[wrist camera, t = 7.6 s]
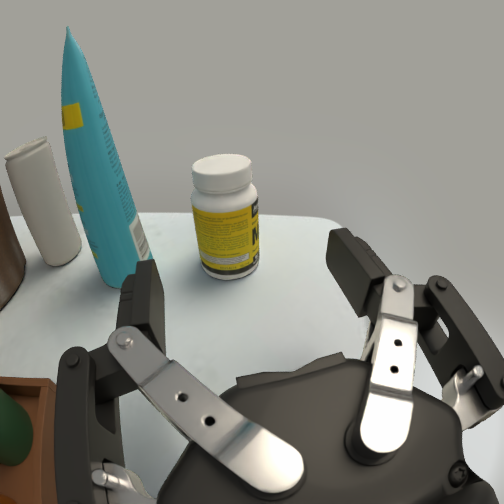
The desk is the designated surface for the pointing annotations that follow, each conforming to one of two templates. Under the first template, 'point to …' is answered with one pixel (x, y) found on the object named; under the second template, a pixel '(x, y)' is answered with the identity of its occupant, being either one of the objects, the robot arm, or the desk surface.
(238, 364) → the desk surface
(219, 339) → the desk surface
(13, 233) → the plant pot
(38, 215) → the beverage can
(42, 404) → the serving tray
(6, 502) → the amber bottle
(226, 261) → the supplement bottle
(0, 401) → the green bottle
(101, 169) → the tube
